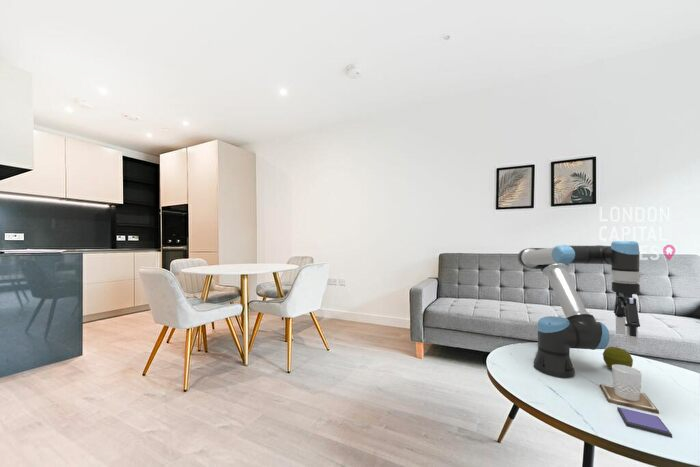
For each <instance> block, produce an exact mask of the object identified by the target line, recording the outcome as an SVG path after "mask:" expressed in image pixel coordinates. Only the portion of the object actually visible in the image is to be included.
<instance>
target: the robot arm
mask: <svg viewBox="0 0 700 467" xmlns="http://www.w3.org/2000/svg"><path fill="white" fill-rule="evenodd" d="M639 245H640V244H639V243H638V242H637V241H634V240H631V241H629V240H627V241H626V240H624V241H623V240H622V241H621V240H613V241H611V243H610V245H603V244H602V245H599V244H598V245H566V244H564V245H563V244H561V245H556V246H554V247H528V248H525V249H522V250H520V251H519V253H518V255H517V261H518V264H520V265H521V267H524V268H526V269H531V270H541V273H542V275H544V276H545V277H547V279H548V280H549V282H550V286H551V288H552V289H553V292H554V294H555V296H556V299H557V300H558V302H559V306H560V307H561V310H562V312H563V314H564V316H565V317H562V316H551V315H550V316H543V317H541V318H539V319H538V320H537V327H536V330H537V351H536V354H535V357H534V358H533V368H534V369H535V370H537V371H538V372H540V373H542V374H545V375H547V376H550V377H555V378H560V379H571V378H574V377H575V376H576V370H575V369H576V368H575V367H574V365H573V362H572V359H571V356H570V349H581V350H593V351H595V350H603V349H604V350H605V349H606V348H607V347H608V345H609V343H610V338H611V337H610V331H609V329H608V327H607V326H606V324H605V323H603V322H602V321H597V320H596V318H595V316H594V315H593V314H591V313H588V311H587V309H586V307H585V305H584V304H583V301H582V299H581V297H580V295H579V294H578V291H577V290H576V288H575V286H574V284H573V281H572V280H571V277H569V274H568V272H567V271H568V269H569V266H570V264H572V265H574V264H575V265H576V264H577V265H579V264H580V265H581V264H583V265H585V264H586V265H587V264H588V265H590V264H591V265H609V266H610V265H611V270H610V272H611V281H612V282H611V291H612V292H614V293H615V302H614V309H613V313H614V316H615V334H616V335H623V336H624V335H625V336H626V339H625V340H626V345H628V346H637V347H638V346H639V340H638V338H639V336H638V335H639V334H638V329H639V327H641V323H640V319H639V312H638V306H637V305H638V304H637V298H635V297H633V295H639V294H640V293H641V288H640V284H639V283H640V277H642V274H641V273H640V255H641V254H640V252H641V251H640V248H639V247H640V246H639Z"/></svg>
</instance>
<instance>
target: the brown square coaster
mask: <svg viewBox="0 0 700 467" xmlns="http://www.w3.org/2000/svg"><path fill="white" fill-rule="evenodd" d="M599 388H600V390H601V392H602V393H603V395H604V397H605V399H606V402H608V403H609V404H614V405H619V406H622V407H627V408H632V409H635V410H640V411H644V412H650V413H652V414H657V415H659V414H660V411H659V409H658V408H657V406H655V404H654V403H653V402H652V401H651V400H650V398H649V396H648V395H647V394H646V393H644V392H641V391H640V398H639V401H630V400H626V399H623V398H621V397H619V396H617V395H616V394H615V393H614V386H612V385H607V384H601V383H599Z"/></svg>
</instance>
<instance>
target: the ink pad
mask: <svg viewBox="0 0 700 467" xmlns="http://www.w3.org/2000/svg"><path fill="white" fill-rule="evenodd" d="M616 410H617V412H618V414H619V415H620V417H621V419H622V421H623V423H624V424H625V426H626V427H629V428H633V429H635V430H640V431H644V432H647V433H652V434H655V435H660V436H664V437H667V438H673V434H672V432H671V431H670V430H669V429H668V427H667V426H666V425H665V423H664V422H663V421H662V419H661V418H660V417H659V416H657V415H656V414H655V415H654V414H649V413H647V412H646V413H645V412H641V411H638V410H637V411H636V410H633V409H628V408H626V407H625V408H624V407H618V406H617V407H616Z"/></svg>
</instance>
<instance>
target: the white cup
mask: <svg viewBox="0 0 700 467" xmlns="http://www.w3.org/2000/svg"><path fill="white" fill-rule="evenodd" d="M611 373H612V385H613V387H614V393H615V394H616V395H617V396H619V397H621V398H623V399H626V400H630V401H639V398H640V392H641V389H642V388H641V387H642V371H641V370H639V369H637V368H635V367H633V366H632V367H629V366H625V365H612V369H611Z"/></svg>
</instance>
